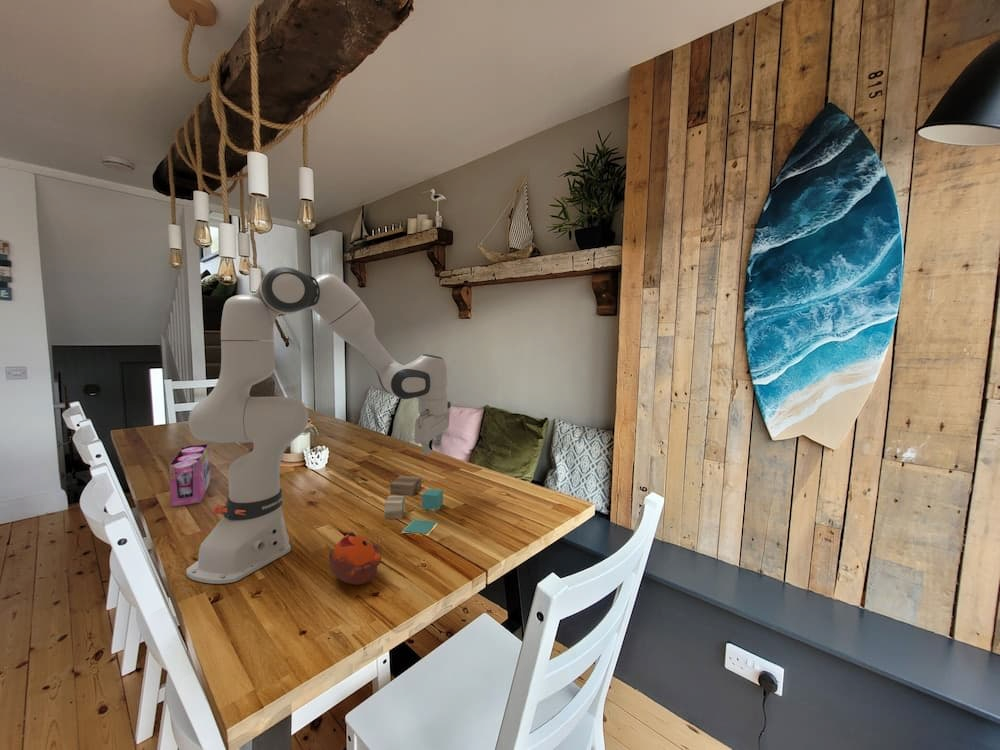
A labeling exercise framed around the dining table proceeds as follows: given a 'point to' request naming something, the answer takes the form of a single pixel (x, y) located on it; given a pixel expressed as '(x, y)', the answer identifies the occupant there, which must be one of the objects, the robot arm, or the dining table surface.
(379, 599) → the dining table surface
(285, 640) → the dining table surface
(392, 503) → the maple cube
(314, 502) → the dining table surface
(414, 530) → the swatch tile
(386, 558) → the dining table surface
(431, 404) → the robot arm
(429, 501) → the teal cube
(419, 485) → the walnut block
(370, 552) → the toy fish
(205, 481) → the gum box
